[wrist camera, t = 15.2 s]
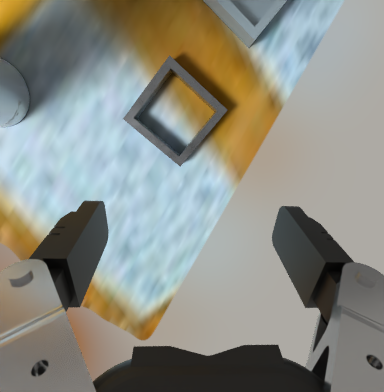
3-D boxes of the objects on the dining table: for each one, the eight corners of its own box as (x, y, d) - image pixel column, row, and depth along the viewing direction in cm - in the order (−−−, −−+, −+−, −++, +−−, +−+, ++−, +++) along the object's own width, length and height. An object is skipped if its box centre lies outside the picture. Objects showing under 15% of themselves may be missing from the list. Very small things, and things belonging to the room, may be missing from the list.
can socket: (127, 119, 34) (123, 118, 32) (171, 60, 32) (169, 55, 29) (180, 163, 36) (180, 166, 34) (224, 111, 34) (227, 110, 31)
